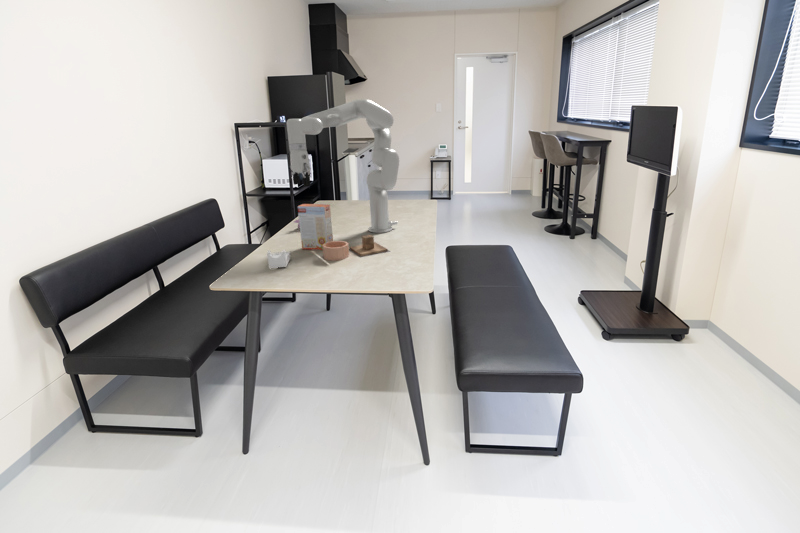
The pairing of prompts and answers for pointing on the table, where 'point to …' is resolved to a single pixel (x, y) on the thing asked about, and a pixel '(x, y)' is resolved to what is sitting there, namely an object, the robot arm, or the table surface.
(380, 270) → the table surface
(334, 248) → the bowl
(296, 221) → the lily
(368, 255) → the mat
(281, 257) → the bracket
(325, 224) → the cracker box
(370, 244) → the lid
